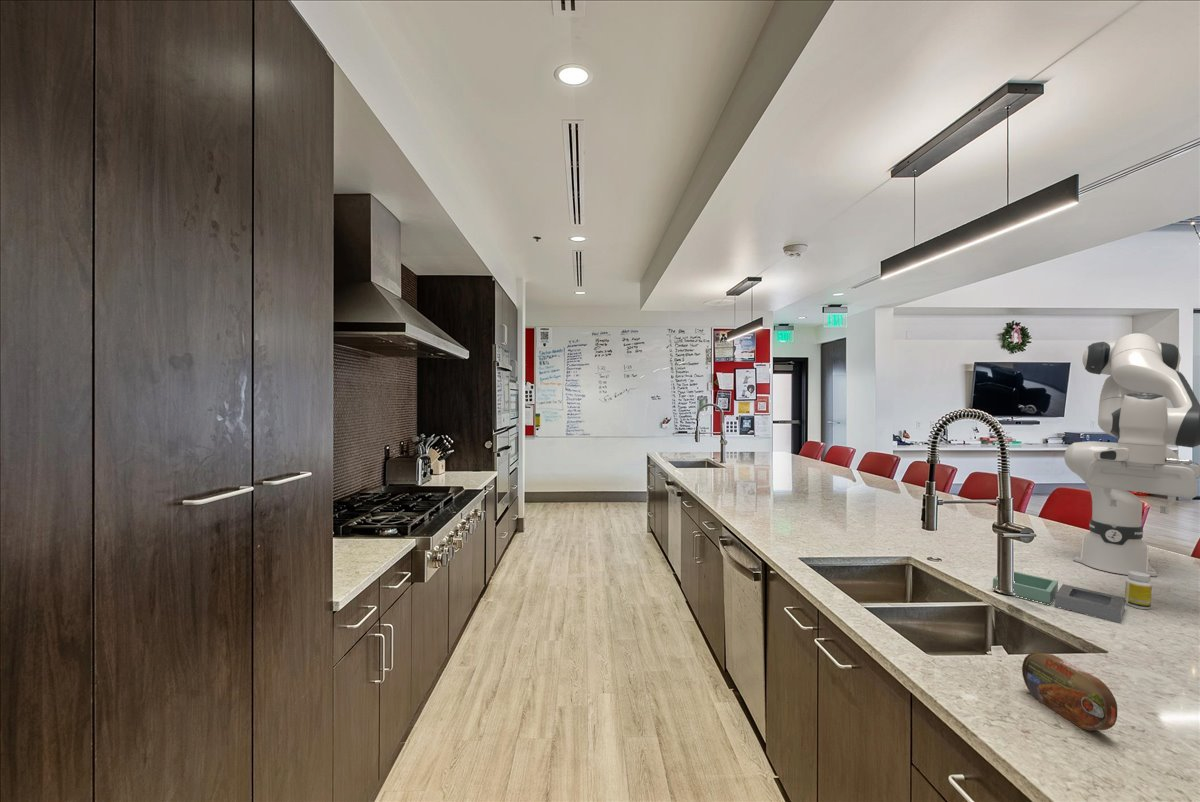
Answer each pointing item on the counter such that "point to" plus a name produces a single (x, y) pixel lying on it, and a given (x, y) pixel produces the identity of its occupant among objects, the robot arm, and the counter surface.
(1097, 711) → the tin
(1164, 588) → the counter surface
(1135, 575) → the supplement bottle
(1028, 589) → the tray
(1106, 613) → the grey slotted block
